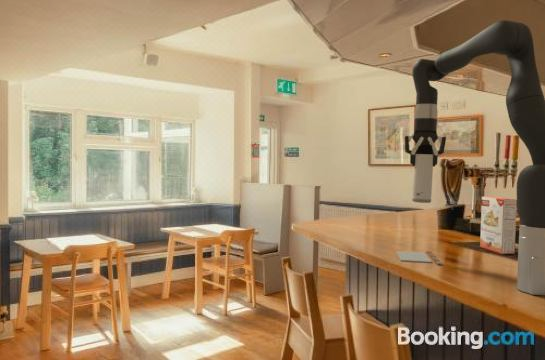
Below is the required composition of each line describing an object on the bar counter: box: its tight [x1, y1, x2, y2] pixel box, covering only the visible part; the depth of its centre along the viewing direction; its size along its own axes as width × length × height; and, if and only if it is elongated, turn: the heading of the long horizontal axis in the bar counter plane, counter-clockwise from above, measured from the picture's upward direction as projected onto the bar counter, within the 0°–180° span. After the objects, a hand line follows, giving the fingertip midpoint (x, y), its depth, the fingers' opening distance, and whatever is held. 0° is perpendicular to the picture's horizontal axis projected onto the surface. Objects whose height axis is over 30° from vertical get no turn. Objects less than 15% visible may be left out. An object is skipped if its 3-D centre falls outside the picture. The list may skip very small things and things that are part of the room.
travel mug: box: [411, 145, 434, 204], centre depth 160 cm, size 6×7×20 cm
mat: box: [395, 250, 433, 264], centre depth 161 cm, size 16×10×1 cm, turn 170°
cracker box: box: [479, 195, 517, 255], centre depth 178 cm, size 14×6×21 cm, turn 8°
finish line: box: [425, 250, 443, 266], centre depth 160 cm, size 22×2×1 cm, turn 170°
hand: (423, 165), depth 160 cm, fingers closed on travel mug, 6 cm apart
